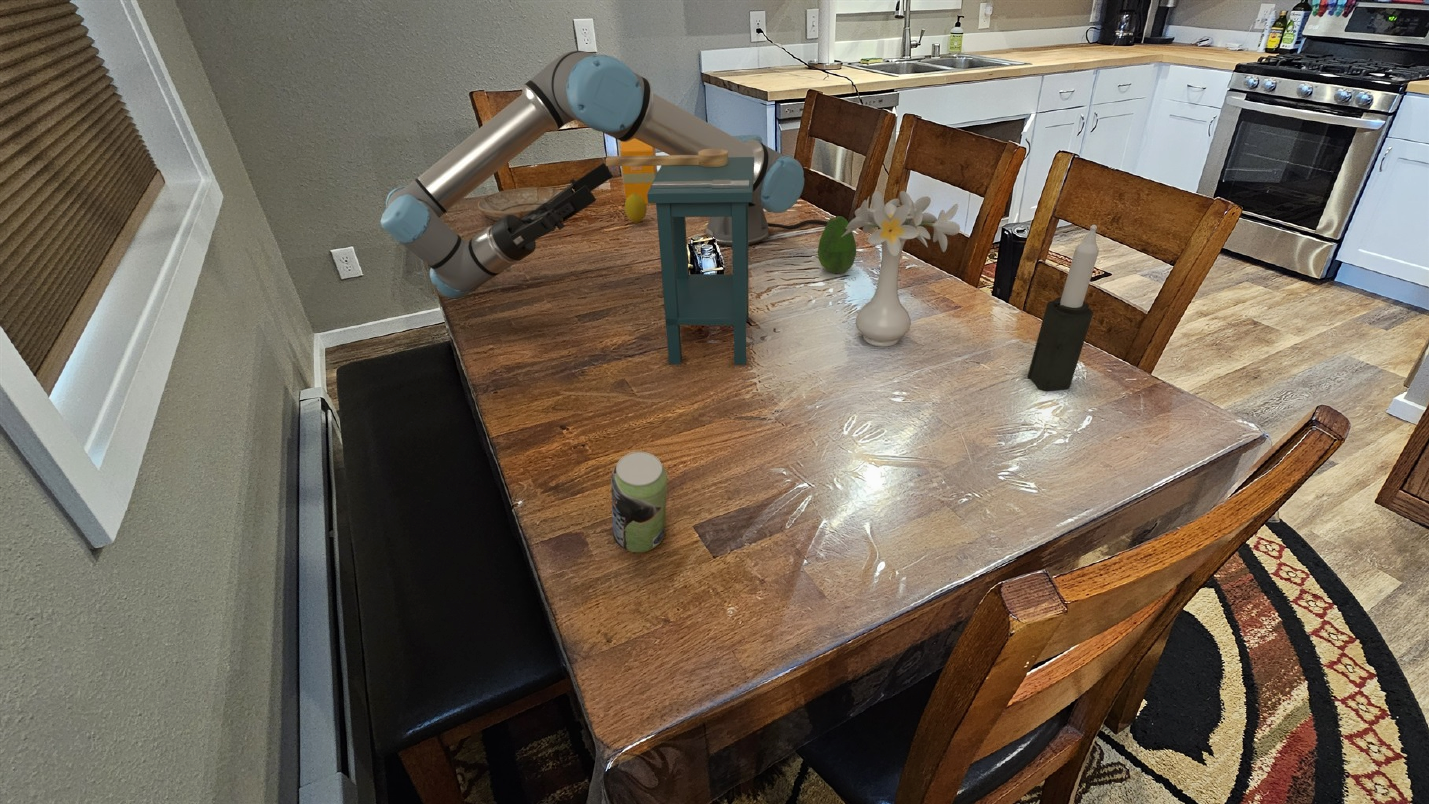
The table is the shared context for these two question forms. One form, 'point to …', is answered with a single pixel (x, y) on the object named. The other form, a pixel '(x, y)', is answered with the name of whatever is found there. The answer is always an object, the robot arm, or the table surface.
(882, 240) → the flower vase
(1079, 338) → the candle
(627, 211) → the lemon
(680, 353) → the stand
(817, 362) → the table surface
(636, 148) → the orange juice
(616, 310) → the table surface
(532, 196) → the ceramic bowl
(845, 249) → the avocado
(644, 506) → the beverage can
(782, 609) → the table surface
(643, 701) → the table surface
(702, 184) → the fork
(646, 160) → the wooden spoon
